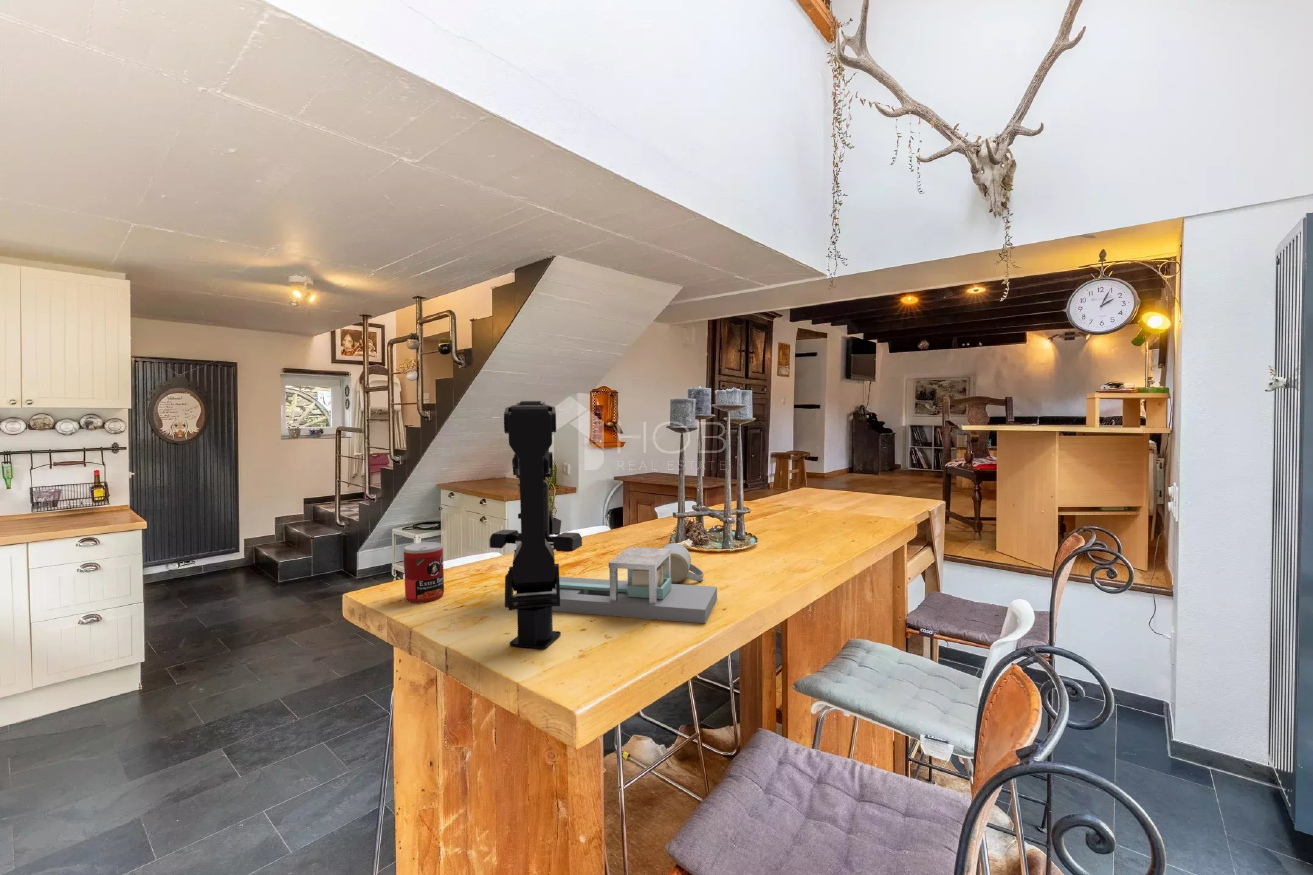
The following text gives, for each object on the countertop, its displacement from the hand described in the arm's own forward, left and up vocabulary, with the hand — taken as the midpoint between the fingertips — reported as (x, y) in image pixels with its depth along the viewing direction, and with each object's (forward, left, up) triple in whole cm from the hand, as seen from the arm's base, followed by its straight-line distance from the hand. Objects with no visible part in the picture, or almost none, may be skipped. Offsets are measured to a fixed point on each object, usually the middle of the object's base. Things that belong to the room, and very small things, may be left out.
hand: (536, 581), depth 117 cm
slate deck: (0, -18, -3) cm, 18 cm away
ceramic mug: (+19, -26, -4) cm, 33 cm away
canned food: (-5, +23, -4) cm, 24 cm away
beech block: (0, -24, -1) cm, 24 cm away
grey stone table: (0, -23, -1) cm, 23 cm away
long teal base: (0, -15, -1) cm, 15 cm away
